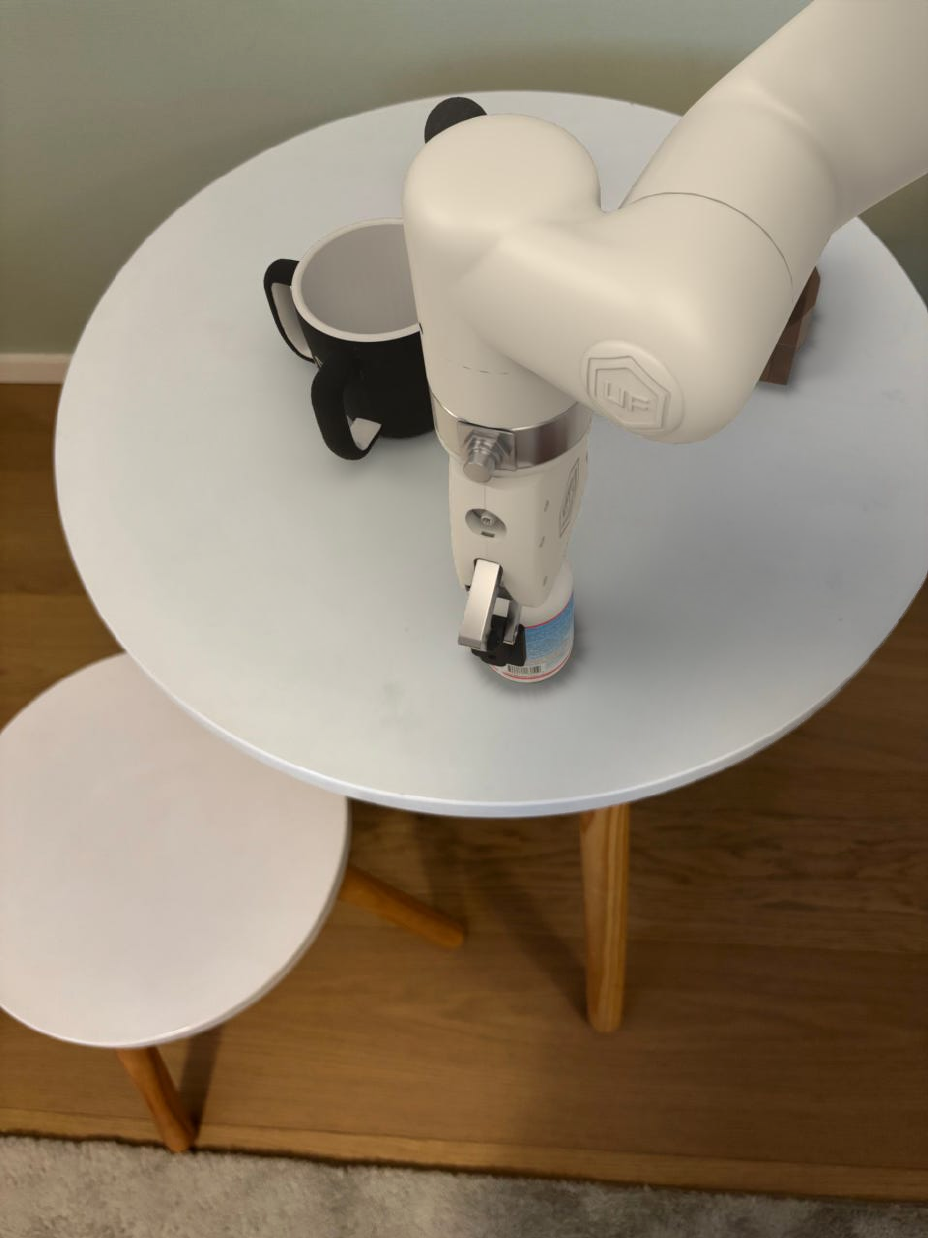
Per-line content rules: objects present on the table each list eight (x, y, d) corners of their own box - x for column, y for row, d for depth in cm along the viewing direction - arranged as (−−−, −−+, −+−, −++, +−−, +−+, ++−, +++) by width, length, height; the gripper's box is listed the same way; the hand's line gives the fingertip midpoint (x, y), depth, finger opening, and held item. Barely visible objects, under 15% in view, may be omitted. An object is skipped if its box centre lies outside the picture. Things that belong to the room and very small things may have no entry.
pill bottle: (590, 629, 69) (594, 531, 59) (543, 701, 66) (540, 611, 57) (511, 591, 71) (503, 490, 61) (464, 659, 68) (447, 566, 59)
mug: (285, 348, 84) (246, 226, 74) (475, 301, 85) (463, 174, 75) (320, 503, 76) (282, 389, 66) (531, 449, 77) (526, 328, 66)
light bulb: (431, 192, 93) (417, 86, 84) (493, 184, 92) (486, 77, 84) (436, 233, 90) (422, 128, 81) (500, 225, 90) (493, 119, 81)
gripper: (538, 562, 43) (543, 731, 58) (635, 278, 51) (618, 490, 66) (370, 525, 45) (417, 698, 60) (489, 255, 53) (505, 467, 67)
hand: (522, 589), depth 63 cm, fingers open, 9 cm apart
